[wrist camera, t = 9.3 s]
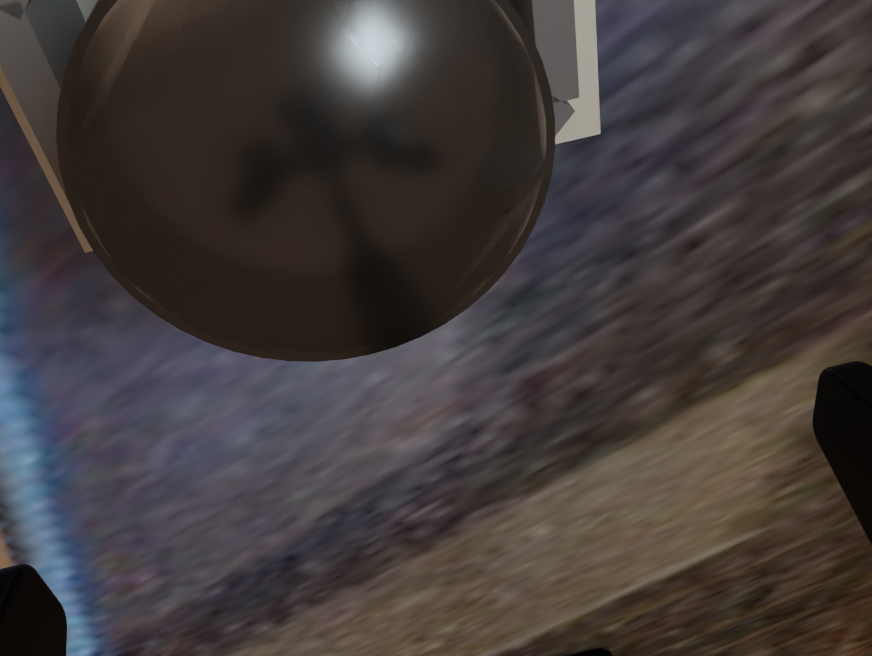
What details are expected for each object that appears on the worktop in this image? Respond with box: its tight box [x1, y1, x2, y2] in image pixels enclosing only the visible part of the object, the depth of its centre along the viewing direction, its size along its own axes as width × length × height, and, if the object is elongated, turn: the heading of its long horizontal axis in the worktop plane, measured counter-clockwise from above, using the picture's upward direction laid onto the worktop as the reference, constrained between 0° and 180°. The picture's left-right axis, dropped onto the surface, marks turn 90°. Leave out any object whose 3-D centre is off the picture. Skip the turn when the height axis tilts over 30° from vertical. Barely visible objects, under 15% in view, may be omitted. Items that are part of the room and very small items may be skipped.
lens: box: [56, 0, 555, 361], centre depth 11 cm, size 5×5×6 cm
